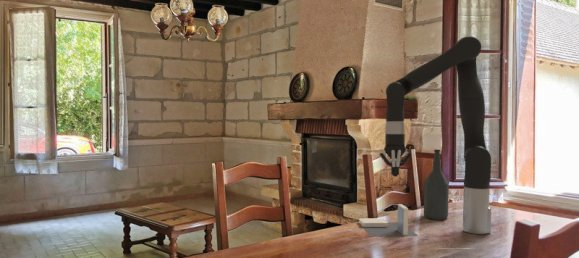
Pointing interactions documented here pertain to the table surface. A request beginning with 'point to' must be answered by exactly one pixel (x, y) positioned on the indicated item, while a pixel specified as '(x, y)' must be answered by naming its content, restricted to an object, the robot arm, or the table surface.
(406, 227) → the tile
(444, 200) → the bottle
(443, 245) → the table surface
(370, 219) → the tile
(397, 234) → the mat
